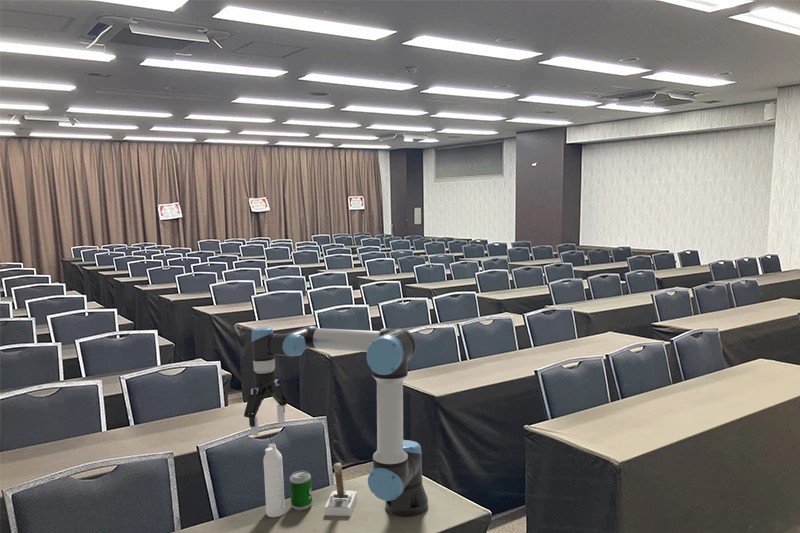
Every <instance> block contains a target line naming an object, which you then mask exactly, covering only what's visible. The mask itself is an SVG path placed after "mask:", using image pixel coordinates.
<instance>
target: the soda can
mask: <svg viewBox="0 0 800 533" xmlns="http://www.w3.org/2000/svg"><path fill="white" fill-rule="evenodd" d="M289 488H290V505H291V507H292V508H293V509H294V510H295V511H299V512H300V511H305V510H308V509H309V508H310V507H311V506H312V504H313V493H312V491H313V490H312V476H311V474H310V473H309V472H308V471H306V470H298V471H295V472H292V474H291V475H290V477H289Z"/></svg>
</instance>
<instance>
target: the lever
mask: <svg viewBox="0 0 800 533" xmlns="http://www.w3.org/2000/svg"><path fill="white" fill-rule="evenodd" d="M333 470H334V476H335V485H336V486H335V487H336V490H337V494H334V498H340V499H341V498H348V495H344V491H345V489H344V478H343V467H342V463H341V462H336V463H334V464H333Z"/></svg>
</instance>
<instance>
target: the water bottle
mask: <svg viewBox="0 0 800 533" xmlns="http://www.w3.org/2000/svg"><path fill="white" fill-rule="evenodd" d="M264 452H265V454H264V456H263V461H262V462H263V472H264V473H263V474H264V476H263V477H264V491H265V492H264V493H265V494H264V495H265V496H264V497H265V510H266V512H265V513H266V516H267V517H269V518H276V517H282V516H283V515H284V514H285V513H286V504H285V502H286V500H285V487H284V486H285V483H284V472H283V471H284V468H283V456H282V453H281V452H280V451H279V450H278V449H277V445H276V443H274V442H273V443H269V444H268V447H266V448H265V449H264Z"/></svg>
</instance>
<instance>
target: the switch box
mask: <svg viewBox="0 0 800 533" xmlns="http://www.w3.org/2000/svg"><path fill="white" fill-rule="evenodd" d="M334 494H337V489H336V490H333V491H332V492H331V493H330V495H329V498H328V500H327V501H326V503H325V506H324V516H332V517H333V516H335V517H336V516H338V517H339V516H340V517H351V515H352V513H353V510H354V508H355V506H356V503H357V500H358V491H356V490H344V495H348V498H341V499H340V498H334Z"/></svg>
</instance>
